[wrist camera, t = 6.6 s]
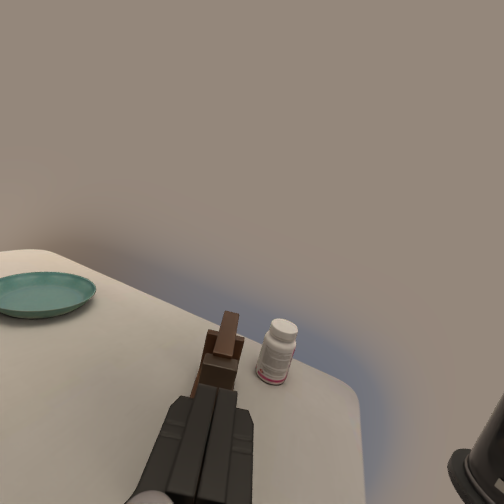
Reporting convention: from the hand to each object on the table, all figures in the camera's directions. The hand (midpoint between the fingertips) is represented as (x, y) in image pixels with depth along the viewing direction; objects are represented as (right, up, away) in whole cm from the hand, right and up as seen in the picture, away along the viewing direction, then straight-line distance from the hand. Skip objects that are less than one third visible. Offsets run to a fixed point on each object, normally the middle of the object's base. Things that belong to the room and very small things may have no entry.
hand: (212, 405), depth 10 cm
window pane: (-3, -13, +14) cm, 19 cm away
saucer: (-33, -3, +34) cm, 48 cm away
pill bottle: (+4, -13, +30) cm, 33 cm away
